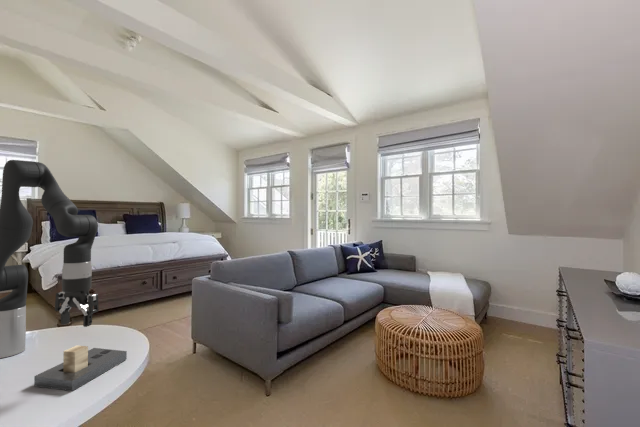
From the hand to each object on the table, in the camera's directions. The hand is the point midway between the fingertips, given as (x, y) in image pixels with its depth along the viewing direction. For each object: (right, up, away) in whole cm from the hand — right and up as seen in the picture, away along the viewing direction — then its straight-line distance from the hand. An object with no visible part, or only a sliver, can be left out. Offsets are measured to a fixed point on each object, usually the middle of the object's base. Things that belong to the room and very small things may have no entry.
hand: (76, 324), depth 98 cm
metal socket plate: (0, -17, +3) cm, 17 cm away
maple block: (0, -17, 0) cm, 17 cm away
